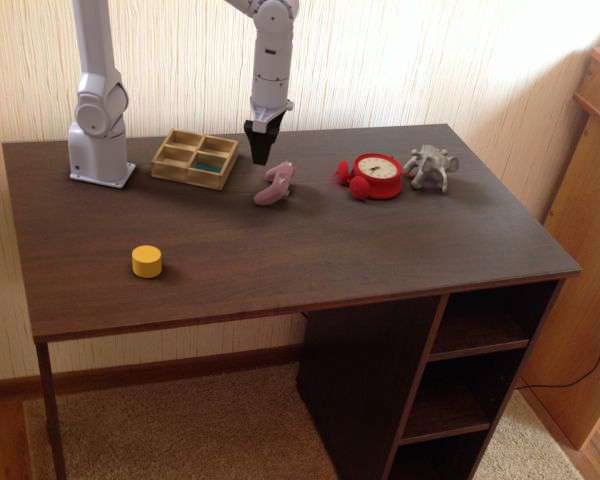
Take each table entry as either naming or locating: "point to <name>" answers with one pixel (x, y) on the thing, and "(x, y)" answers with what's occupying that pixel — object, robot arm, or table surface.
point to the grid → (195, 159)
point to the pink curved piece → (276, 184)
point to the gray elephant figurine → (431, 166)
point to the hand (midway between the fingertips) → (264, 152)
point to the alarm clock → (371, 176)
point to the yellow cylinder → (146, 261)
